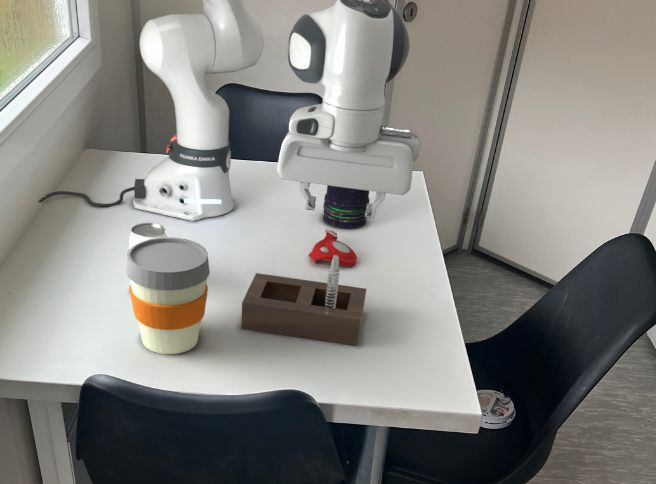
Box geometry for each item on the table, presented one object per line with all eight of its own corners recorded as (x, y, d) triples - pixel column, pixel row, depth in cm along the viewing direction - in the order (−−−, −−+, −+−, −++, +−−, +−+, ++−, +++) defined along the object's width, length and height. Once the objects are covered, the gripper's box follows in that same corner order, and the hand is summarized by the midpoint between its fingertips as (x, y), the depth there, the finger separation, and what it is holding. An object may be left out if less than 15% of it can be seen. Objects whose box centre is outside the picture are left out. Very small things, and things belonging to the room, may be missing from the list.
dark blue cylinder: (355, 210, 167) (366, 130, 157) (373, 227, 160) (386, 145, 149) (315, 213, 164) (323, 132, 154) (331, 231, 157) (341, 147, 146)
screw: (330, 314, 127) (347, 327, 124) (308, 321, 125) (324, 334, 122) (339, 246, 120) (357, 257, 117) (315, 251, 117) (333, 263, 114)
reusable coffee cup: (142, 366, 111) (137, 278, 102) (122, 326, 120) (116, 242, 111) (220, 352, 115) (221, 266, 107) (194, 314, 125) (194, 232, 116)
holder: (356, 346, 119) (360, 319, 117) (240, 328, 122) (242, 302, 119) (362, 313, 128) (366, 288, 125) (254, 297, 131) (255, 272, 128)
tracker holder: (368, 259, 144) (331, 257, 138) (358, 276, 146) (321, 276, 140) (336, 223, 150) (299, 220, 144) (327, 241, 153) (290, 239, 147)
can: (139, 303, 126) (136, 239, 119) (127, 287, 131) (123, 224, 124) (174, 297, 129) (173, 234, 122) (161, 281, 134) (159, 219, 127)
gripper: (423, 125, 107) (407, 214, 115) (286, 108, 109) (279, 196, 117) (422, 137, 101) (405, 230, 110) (278, 120, 104) (272, 211, 112)
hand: (339, 212), depth 113 cm, fingers open, 8 cm apart
